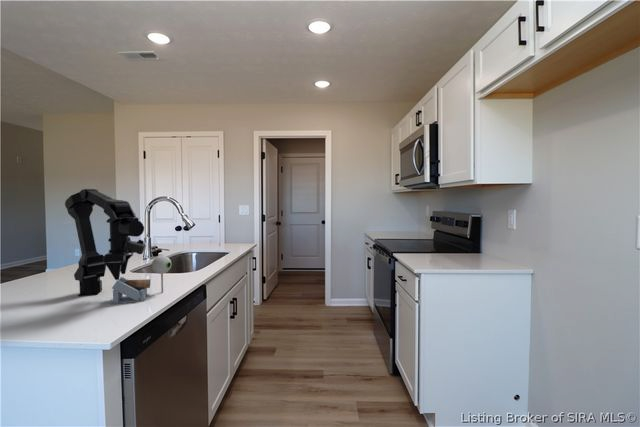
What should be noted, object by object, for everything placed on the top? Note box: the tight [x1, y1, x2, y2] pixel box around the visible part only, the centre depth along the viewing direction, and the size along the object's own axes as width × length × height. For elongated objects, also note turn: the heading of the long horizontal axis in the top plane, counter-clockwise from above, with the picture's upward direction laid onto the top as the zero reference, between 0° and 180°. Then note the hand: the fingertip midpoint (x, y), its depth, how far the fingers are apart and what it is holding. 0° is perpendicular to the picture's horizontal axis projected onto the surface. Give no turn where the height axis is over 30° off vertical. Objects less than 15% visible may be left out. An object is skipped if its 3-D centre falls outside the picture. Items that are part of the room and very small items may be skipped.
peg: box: [125, 278, 151, 289], centre depth 122 cm, size 3×3×8 cm
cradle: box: [109, 276, 149, 305], centre depth 121 cm, size 11×7×8 cm, turn 109°
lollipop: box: [151, 255, 172, 294], centre depth 130 cm, size 7×7×15 cm
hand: (120, 276), depth 120 cm, fingers open, 9 cm apart
